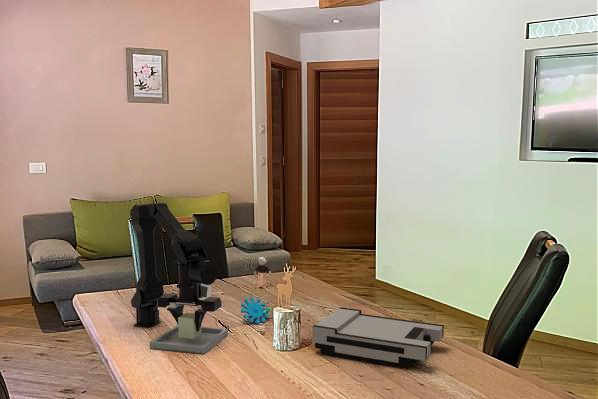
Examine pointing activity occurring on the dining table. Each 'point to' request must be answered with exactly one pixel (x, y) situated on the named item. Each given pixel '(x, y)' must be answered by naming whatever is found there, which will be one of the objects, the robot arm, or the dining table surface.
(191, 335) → the sage block
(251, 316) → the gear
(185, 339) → the tray
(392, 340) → the game console
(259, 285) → the grandmother figurine
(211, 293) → the drinking glass
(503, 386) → the dining table surface
